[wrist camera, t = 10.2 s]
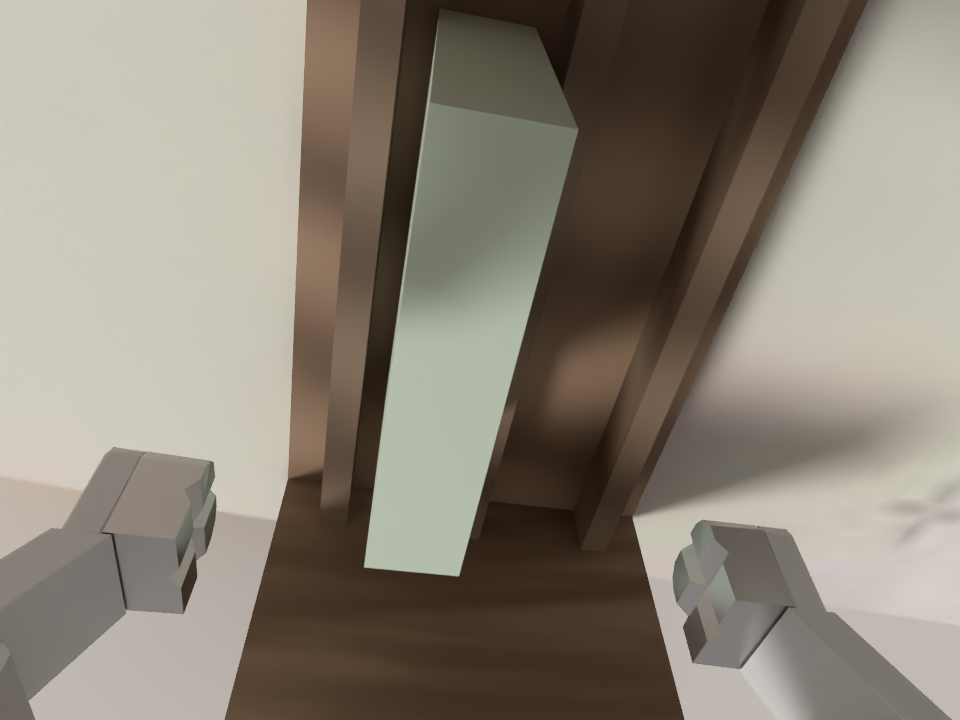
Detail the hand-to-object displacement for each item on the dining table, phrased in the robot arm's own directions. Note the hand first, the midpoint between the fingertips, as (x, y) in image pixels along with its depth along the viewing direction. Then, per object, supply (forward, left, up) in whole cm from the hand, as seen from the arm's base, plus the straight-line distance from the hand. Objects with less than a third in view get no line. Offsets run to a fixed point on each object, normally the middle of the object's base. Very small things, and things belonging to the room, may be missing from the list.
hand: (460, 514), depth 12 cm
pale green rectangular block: (0, 0, -12) cm, 12 cm away
